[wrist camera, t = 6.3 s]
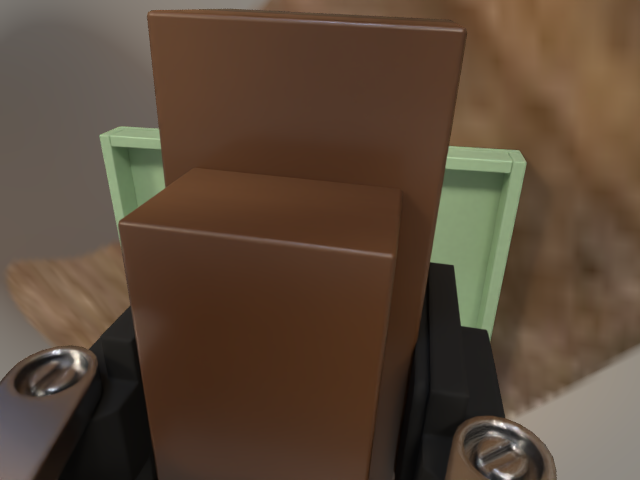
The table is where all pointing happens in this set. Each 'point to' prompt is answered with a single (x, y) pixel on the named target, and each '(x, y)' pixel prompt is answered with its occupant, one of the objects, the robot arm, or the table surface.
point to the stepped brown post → (288, 238)
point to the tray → (452, 221)
